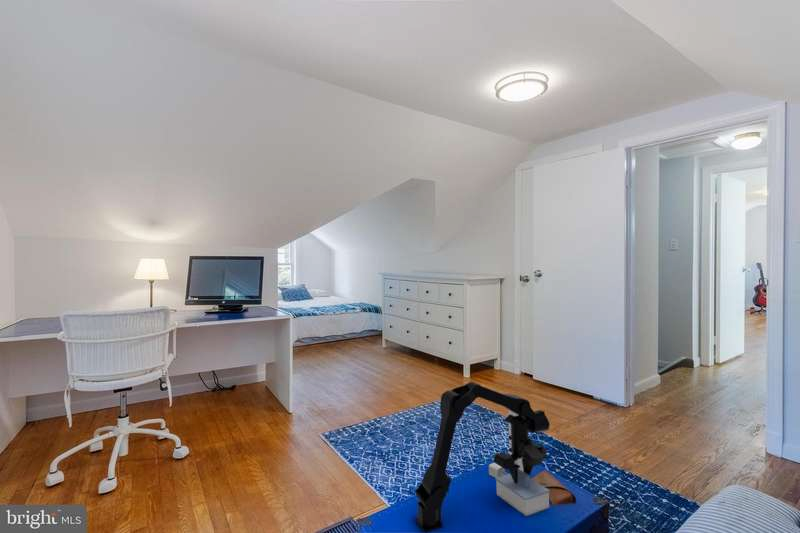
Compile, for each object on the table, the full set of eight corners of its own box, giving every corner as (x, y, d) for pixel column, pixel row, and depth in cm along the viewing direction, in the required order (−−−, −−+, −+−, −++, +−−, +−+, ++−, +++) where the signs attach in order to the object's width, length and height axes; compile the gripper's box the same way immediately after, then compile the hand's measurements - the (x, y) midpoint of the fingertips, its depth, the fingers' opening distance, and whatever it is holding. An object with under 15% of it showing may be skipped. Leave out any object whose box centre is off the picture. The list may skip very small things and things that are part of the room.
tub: (526, 516, 120) (525, 499, 120) (496, 494, 133) (496, 480, 133) (549, 507, 124) (548, 491, 125) (518, 487, 137) (518, 473, 137)
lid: (525, 504, 120) (525, 485, 120) (495, 483, 133) (495, 466, 133) (549, 495, 124) (549, 477, 125) (518, 476, 137) (517, 460, 138)
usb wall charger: (495, 472, 149) (495, 461, 149) (510, 479, 143) (510, 468, 143) (488, 475, 146) (488, 464, 146) (503, 482, 141) (503, 471, 141)
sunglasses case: (525, 479, 142) (533, 462, 143) (540, 487, 144) (548, 470, 144) (554, 506, 125) (562, 487, 126) (570, 515, 126) (579, 496, 127)
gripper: (515, 448, 118) (517, 500, 118) (558, 437, 126) (560, 485, 126) (492, 436, 128) (493, 484, 128) (533, 426, 136) (535, 471, 136)
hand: (521, 481), depth 129 cm, fingers open, 5 cm apart
